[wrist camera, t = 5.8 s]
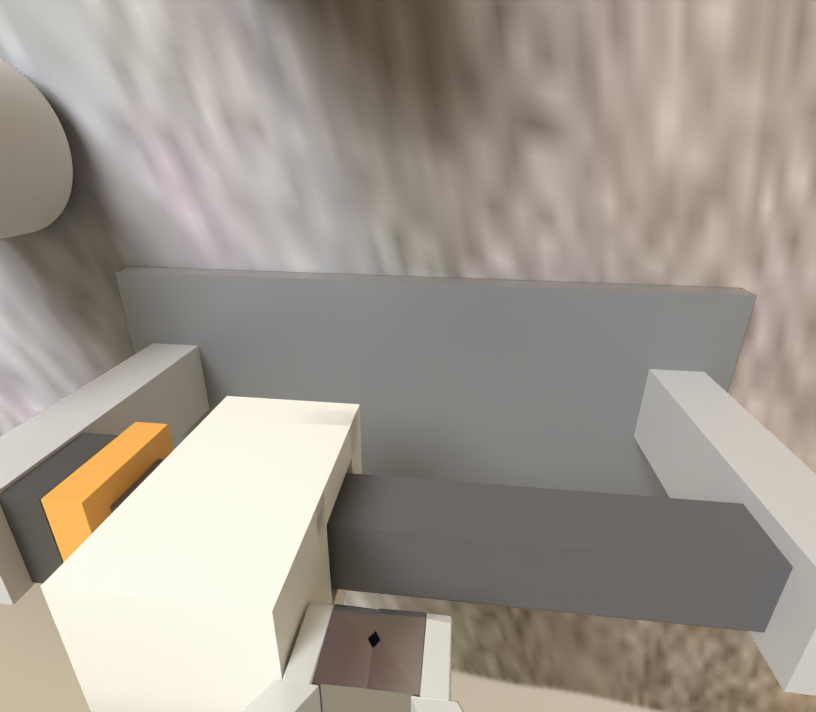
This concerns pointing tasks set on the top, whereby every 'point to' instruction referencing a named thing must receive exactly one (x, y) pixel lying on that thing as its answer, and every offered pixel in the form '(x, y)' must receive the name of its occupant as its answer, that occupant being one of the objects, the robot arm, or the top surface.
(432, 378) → the grey slider rail base
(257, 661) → the cream sliding block
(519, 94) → the top surface
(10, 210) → the beverage can
